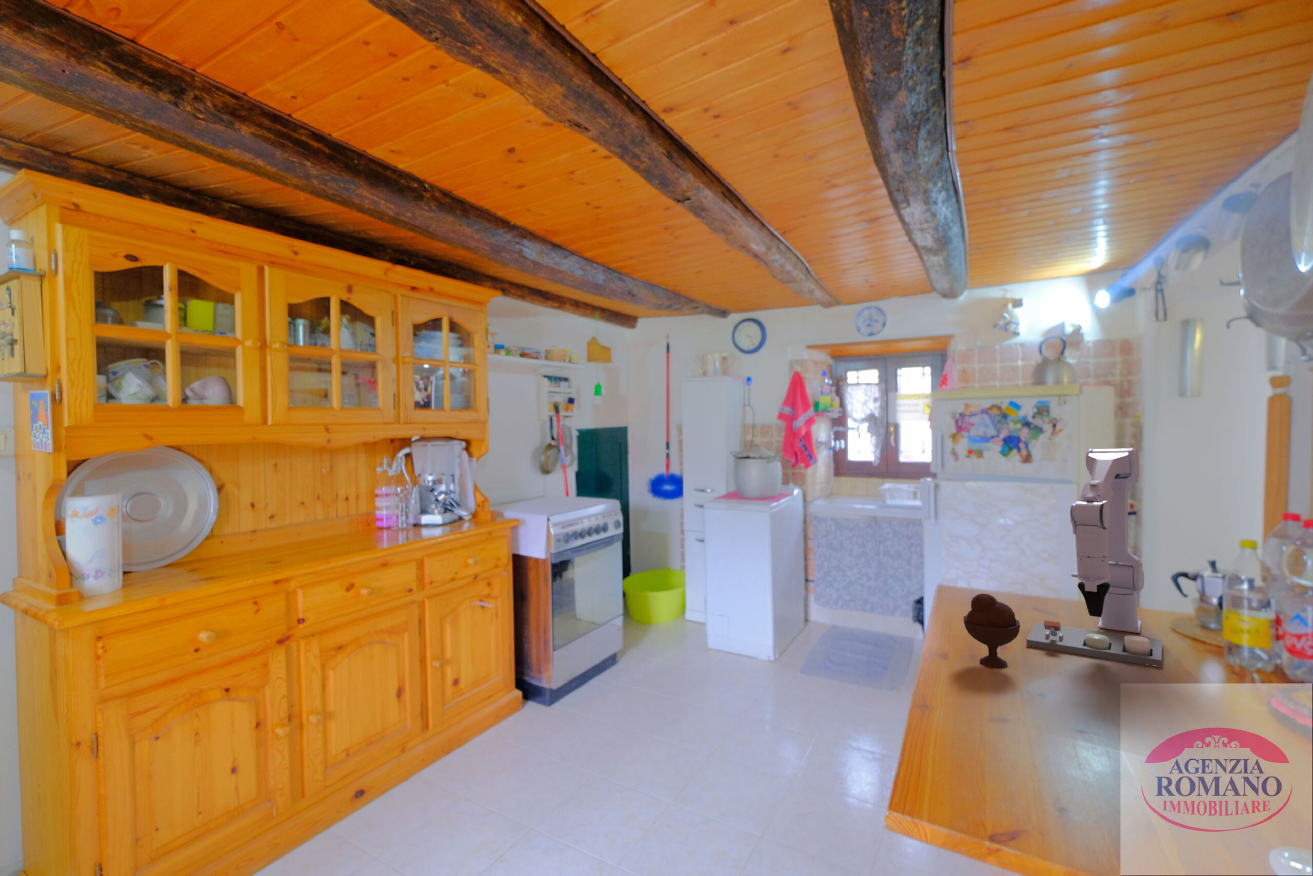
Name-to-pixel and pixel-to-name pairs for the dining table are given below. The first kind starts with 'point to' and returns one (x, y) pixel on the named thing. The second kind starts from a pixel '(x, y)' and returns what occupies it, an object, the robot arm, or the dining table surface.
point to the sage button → (1097, 641)
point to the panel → (1075, 643)
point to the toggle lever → (1052, 627)
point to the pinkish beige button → (1137, 645)
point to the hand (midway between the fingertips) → (1095, 615)
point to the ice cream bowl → (991, 627)
